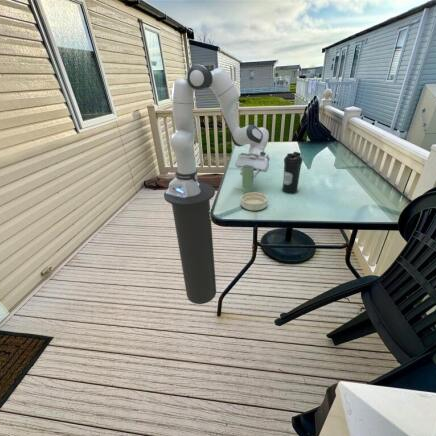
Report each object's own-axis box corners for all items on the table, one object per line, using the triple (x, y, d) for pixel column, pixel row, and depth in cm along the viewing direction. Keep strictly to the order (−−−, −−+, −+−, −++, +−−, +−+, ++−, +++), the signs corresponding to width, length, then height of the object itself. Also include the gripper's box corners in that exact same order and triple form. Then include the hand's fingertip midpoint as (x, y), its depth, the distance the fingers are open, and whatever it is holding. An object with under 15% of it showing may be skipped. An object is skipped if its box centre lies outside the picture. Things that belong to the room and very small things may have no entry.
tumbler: (241, 187, 143) (240, 168, 137) (243, 183, 149) (243, 164, 142) (251, 188, 142) (252, 169, 135) (254, 184, 147) (254, 165, 141)
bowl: (238, 209, 130) (238, 202, 128) (244, 198, 142) (244, 191, 140) (264, 213, 126) (264, 205, 124) (269, 201, 138) (269, 193, 136)
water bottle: (277, 190, 150) (281, 153, 138) (288, 185, 155) (292, 149, 143) (291, 195, 143) (295, 157, 131) (301, 190, 148) (307, 153, 136)
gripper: (237, 150, 145) (230, 170, 143) (270, 154, 136) (262, 176, 134) (241, 155, 151) (233, 175, 149) (272, 159, 142) (264, 181, 139)
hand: (247, 176), depth 141 cm, fingers closed on tumbler, 6 cm apart
